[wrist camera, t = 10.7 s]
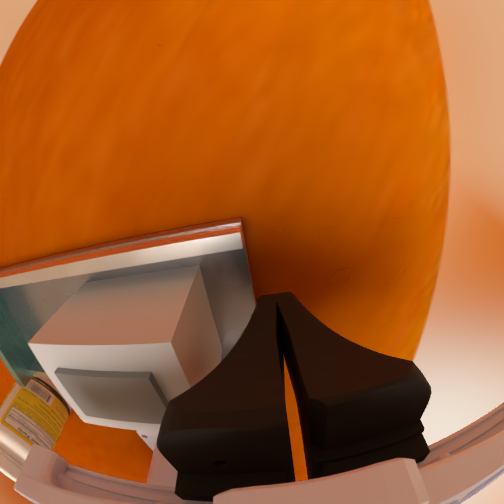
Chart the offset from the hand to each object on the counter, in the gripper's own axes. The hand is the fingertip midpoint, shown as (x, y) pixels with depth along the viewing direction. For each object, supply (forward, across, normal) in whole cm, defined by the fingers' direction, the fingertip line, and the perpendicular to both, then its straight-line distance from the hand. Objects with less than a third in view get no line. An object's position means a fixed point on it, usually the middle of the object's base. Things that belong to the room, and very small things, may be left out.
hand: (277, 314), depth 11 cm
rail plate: (+2, +9, 0) cm, 10 cm away
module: (+1, +6, 0) cm, 6 cm away
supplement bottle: (+2, +20, +8) cm, 21 cm away
